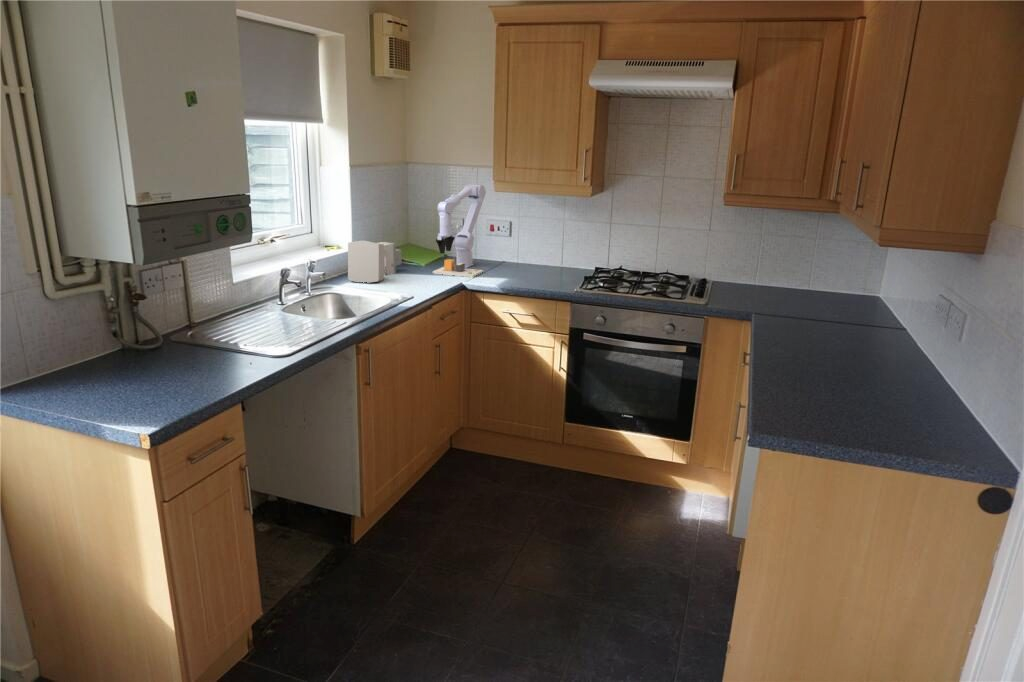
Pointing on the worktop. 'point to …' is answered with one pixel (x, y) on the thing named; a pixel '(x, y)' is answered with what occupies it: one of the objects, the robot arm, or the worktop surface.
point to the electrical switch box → (365, 261)
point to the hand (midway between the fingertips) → (445, 252)
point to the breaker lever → (459, 267)
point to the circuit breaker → (391, 257)
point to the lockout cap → (449, 264)
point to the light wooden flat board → (458, 272)
